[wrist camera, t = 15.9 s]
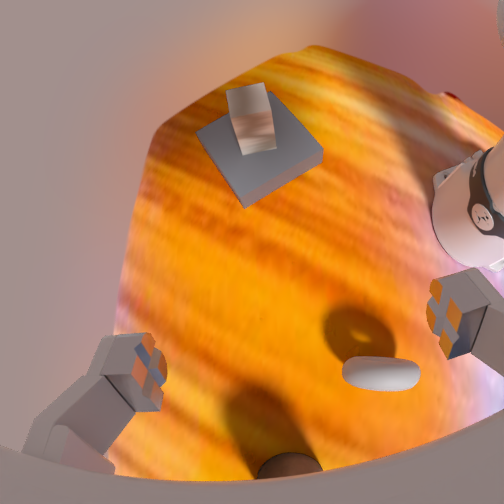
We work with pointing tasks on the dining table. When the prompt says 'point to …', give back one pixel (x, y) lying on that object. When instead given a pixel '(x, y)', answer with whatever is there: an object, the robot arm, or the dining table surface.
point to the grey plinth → (261, 154)
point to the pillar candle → (288, 466)
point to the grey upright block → (251, 118)
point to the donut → (381, 373)
